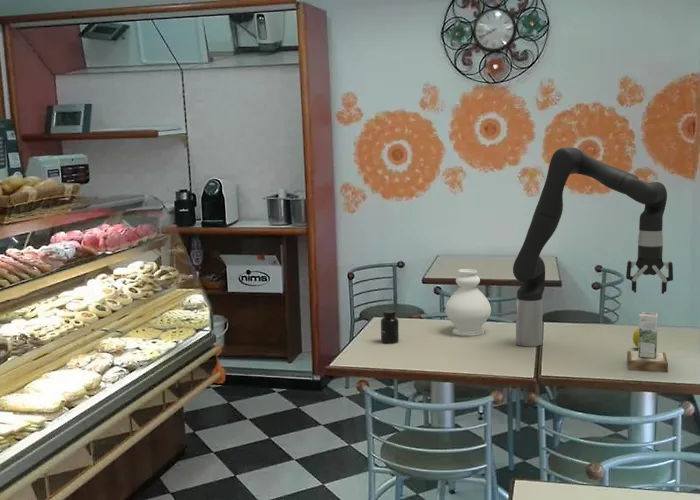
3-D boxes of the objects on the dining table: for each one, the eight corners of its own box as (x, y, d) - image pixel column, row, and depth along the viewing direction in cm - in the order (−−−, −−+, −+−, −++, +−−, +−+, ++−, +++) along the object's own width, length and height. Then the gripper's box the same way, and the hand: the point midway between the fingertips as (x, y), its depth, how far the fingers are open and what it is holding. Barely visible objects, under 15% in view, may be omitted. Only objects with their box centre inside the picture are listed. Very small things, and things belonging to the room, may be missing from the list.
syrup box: (657, 354, 258) (658, 312, 256) (656, 359, 253) (657, 316, 251) (638, 353, 260) (639, 311, 258) (637, 357, 255) (638, 315, 253)
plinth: (628, 369, 253) (628, 360, 253) (627, 359, 264) (627, 350, 264) (667, 372, 249) (667, 362, 249) (664, 361, 261) (665, 352, 260)
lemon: (650, 351, 273) (651, 329, 272) (634, 351, 274) (634, 329, 273) (647, 347, 278) (648, 325, 277) (631, 347, 279) (632, 325, 278)
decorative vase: (446, 326, 318) (445, 266, 314) (490, 326, 316) (489, 266, 312) (445, 337, 301) (444, 274, 297) (492, 337, 298) (491, 274, 294)
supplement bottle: (378, 343, 296) (377, 312, 294) (384, 338, 302) (383, 308, 300) (395, 344, 293) (394, 313, 292) (401, 340, 300) (400, 309, 298)
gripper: (627, 245, 249) (626, 294, 252) (675, 246, 245) (673, 296, 247) (626, 241, 256) (625, 289, 259) (673, 242, 252) (671, 291, 255)
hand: (648, 292), depth 253 cm, fingers open, 8 cm apart
